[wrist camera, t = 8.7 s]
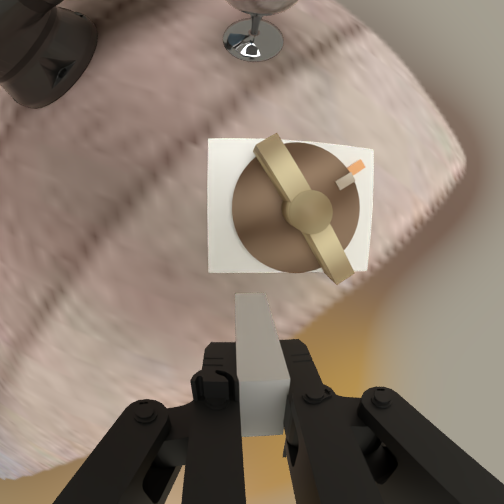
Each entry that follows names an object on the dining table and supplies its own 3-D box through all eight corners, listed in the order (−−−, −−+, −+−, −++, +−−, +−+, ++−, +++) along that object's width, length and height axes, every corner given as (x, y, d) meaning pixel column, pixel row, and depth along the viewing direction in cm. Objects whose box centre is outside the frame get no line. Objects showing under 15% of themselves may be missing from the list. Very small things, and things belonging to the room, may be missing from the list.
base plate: (209, 141, 27) (207, 137, 25) (367, 150, 28) (375, 148, 26) (209, 268, 30) (208, 274, 28) (361, 267, 31) (369, 272, 29)
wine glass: (287, 67, 25) (324, -10, 11) (216, 63, 25) (204, -20, 10) (286, 18, 24) (315, -60, 9) (222, 15, 23) (217, -68, 9)
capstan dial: (204, 182, 26) (196, 180, 21) (313, 119, 25) (332, 104, 20) (276, 294, 29) (285, 319, 24) (373, 232, 29) (402, 243, 23)
